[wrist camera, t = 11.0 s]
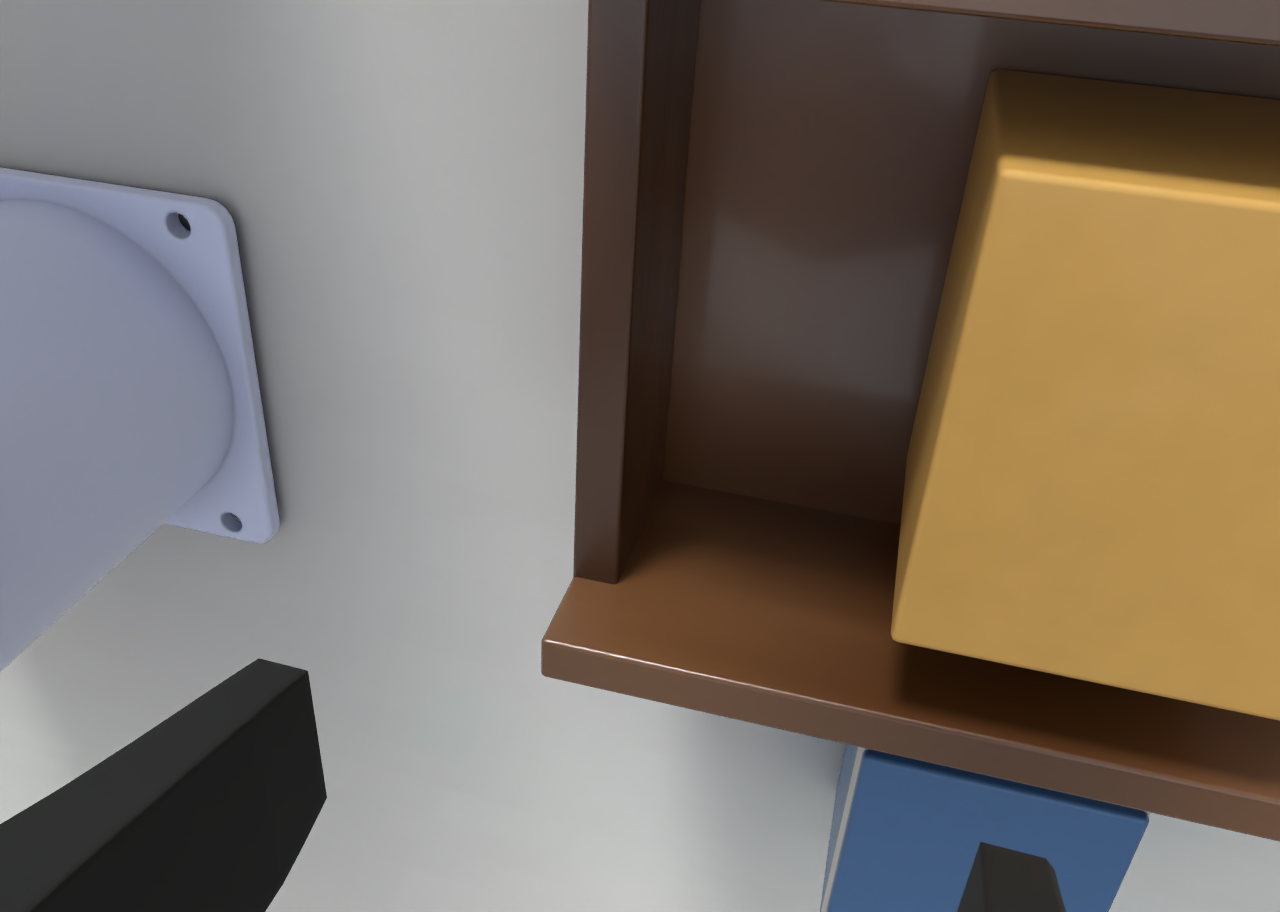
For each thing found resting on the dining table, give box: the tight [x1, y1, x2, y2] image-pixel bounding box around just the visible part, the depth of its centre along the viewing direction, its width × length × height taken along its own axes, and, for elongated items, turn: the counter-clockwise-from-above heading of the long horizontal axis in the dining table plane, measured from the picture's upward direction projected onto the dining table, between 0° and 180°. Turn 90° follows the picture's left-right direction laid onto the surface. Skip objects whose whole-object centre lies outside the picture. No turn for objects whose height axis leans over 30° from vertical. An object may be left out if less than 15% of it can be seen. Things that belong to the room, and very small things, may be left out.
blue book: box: [820, 744, 1149, 912], centre depth 21 cm, size 4×6×5 cm
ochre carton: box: [891, 69, 1280, 721], centre depth 13 cm, size 5×6×5 cm
